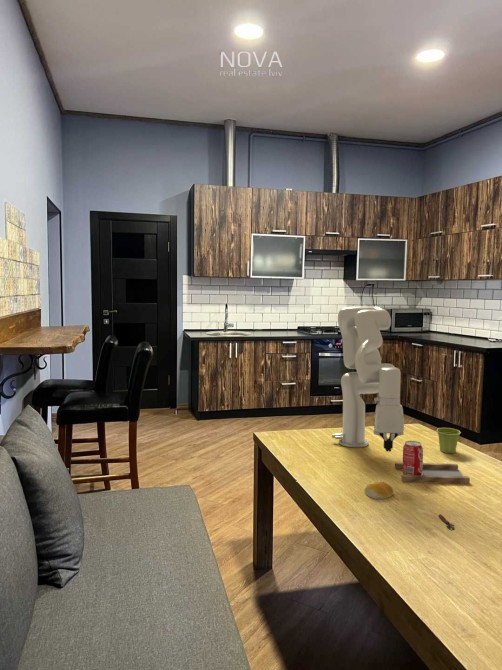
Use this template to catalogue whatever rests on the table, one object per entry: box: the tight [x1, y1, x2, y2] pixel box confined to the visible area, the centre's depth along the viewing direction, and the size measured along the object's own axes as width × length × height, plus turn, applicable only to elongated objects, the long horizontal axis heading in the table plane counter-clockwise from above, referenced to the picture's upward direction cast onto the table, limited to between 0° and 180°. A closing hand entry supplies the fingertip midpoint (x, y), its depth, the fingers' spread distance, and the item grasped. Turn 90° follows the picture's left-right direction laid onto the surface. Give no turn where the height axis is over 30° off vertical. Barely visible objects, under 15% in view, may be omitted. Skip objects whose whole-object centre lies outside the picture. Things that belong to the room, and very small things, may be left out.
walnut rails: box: [394, 462, 471, 485], centre depth 187 cm, size 23×14×2 cm, turn 86°
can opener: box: [438, 514, 455, 531], centre depth 150 cm, size 9×2×1 cm, turn 179°
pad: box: [422, 469, 464, 476], centre depth 187 cm, size 14×11×1 cm
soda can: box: [402, 440, 424, 475], centre depth 187 cm, size 7×7×12 cm
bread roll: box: [364, 481, 394, 500], centre depth 171 cm, size 8×9×4 cm
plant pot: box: [436, 427, 462, 454], centre depth 214 cm, size 9×9×9 cm
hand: (388, 450), depth 188 cm, fingers closed
